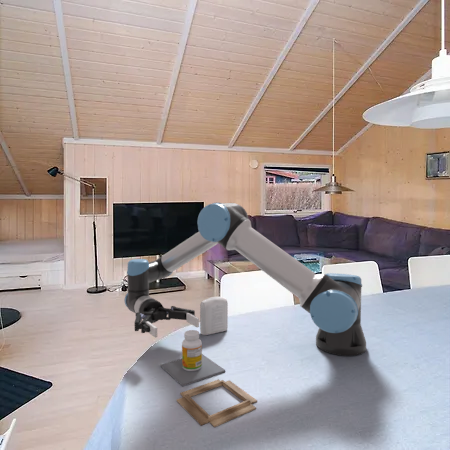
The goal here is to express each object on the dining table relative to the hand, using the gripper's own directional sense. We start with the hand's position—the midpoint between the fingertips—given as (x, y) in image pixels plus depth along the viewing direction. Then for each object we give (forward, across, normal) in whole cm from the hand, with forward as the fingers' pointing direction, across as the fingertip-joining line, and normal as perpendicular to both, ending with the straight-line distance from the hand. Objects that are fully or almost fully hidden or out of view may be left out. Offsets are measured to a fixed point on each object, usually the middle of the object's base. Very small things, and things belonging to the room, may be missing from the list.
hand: (177, 327), depth 102 cm
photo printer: (-11, -20, -9) cm, 25 cm away
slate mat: (+8, 0, -9) cm, 12 cm away
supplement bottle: (+8, 0, -9) cm, 12 cm away
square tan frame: (+25, +3, -9) cm, 27 cm away
